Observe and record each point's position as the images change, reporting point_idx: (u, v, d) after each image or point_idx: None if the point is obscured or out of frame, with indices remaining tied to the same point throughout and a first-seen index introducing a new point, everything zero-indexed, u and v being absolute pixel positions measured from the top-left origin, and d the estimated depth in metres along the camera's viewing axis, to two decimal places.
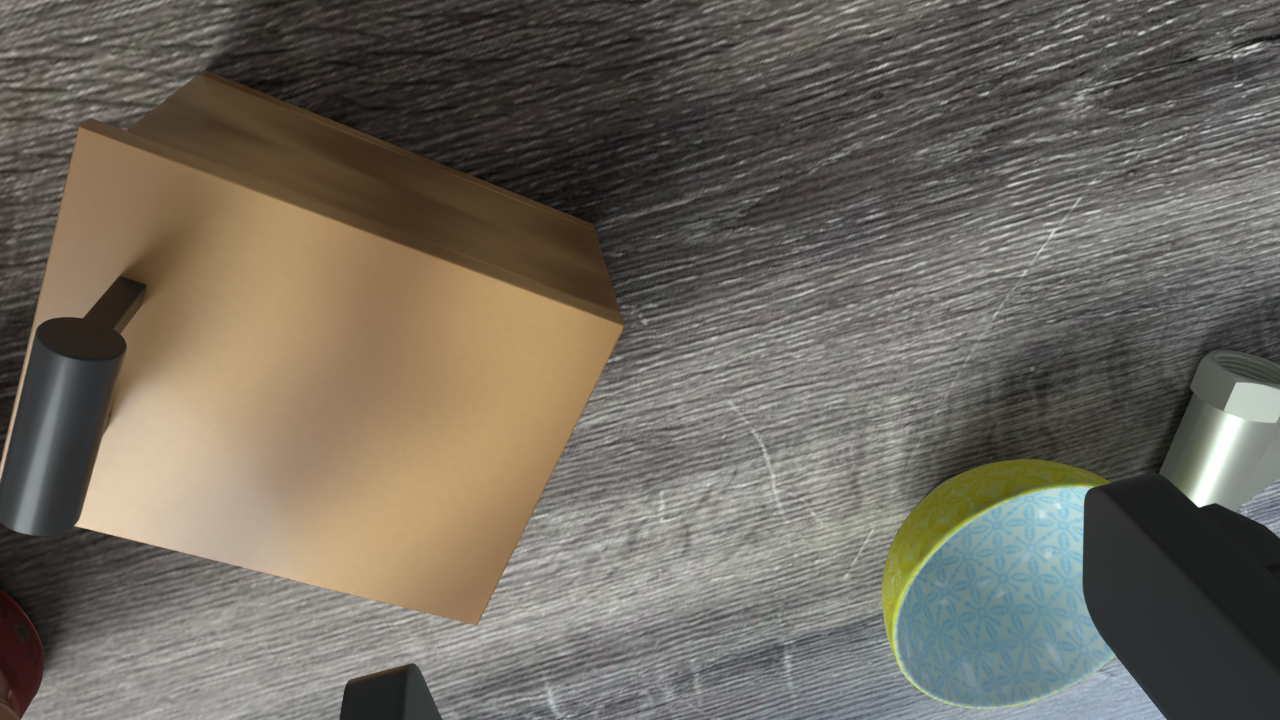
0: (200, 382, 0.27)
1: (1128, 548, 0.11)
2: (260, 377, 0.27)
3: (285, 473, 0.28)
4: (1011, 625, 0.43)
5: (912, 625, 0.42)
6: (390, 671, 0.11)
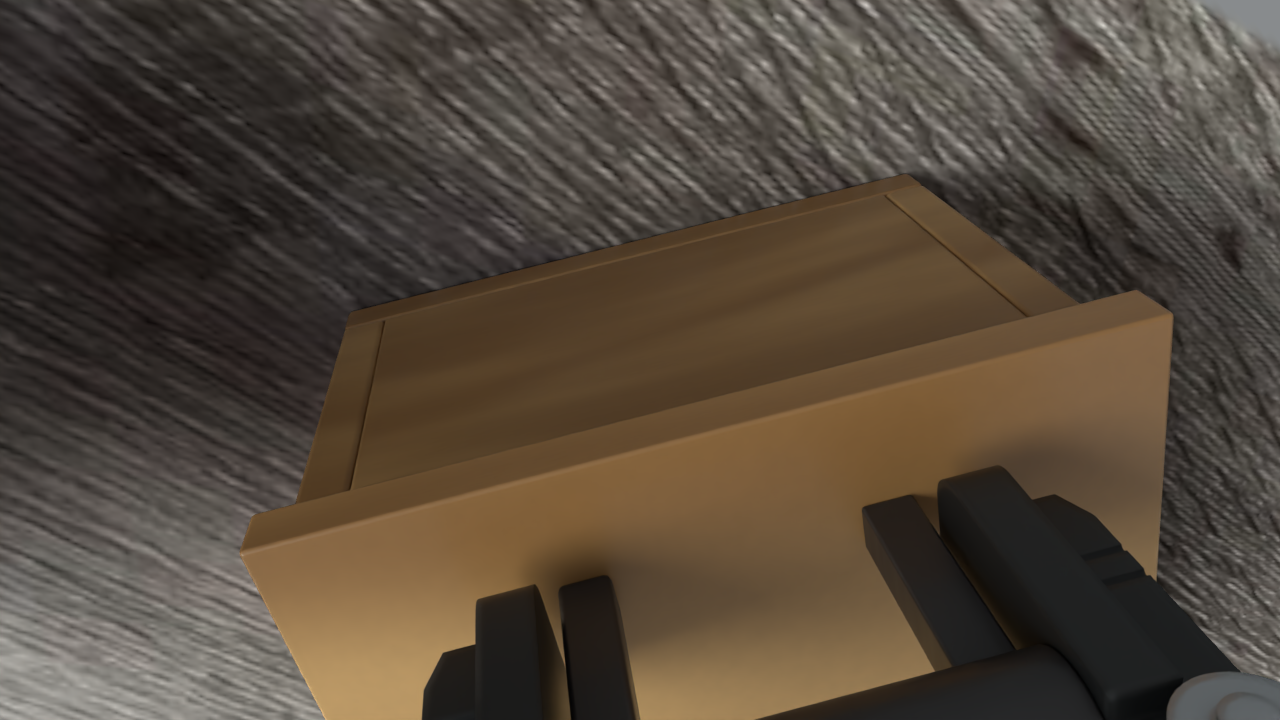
0: (764, 680, 0.14)
1: (968, 536, 0.11)
2: None
3: None
4: None
5: None
6: (517, 590, 0.11)
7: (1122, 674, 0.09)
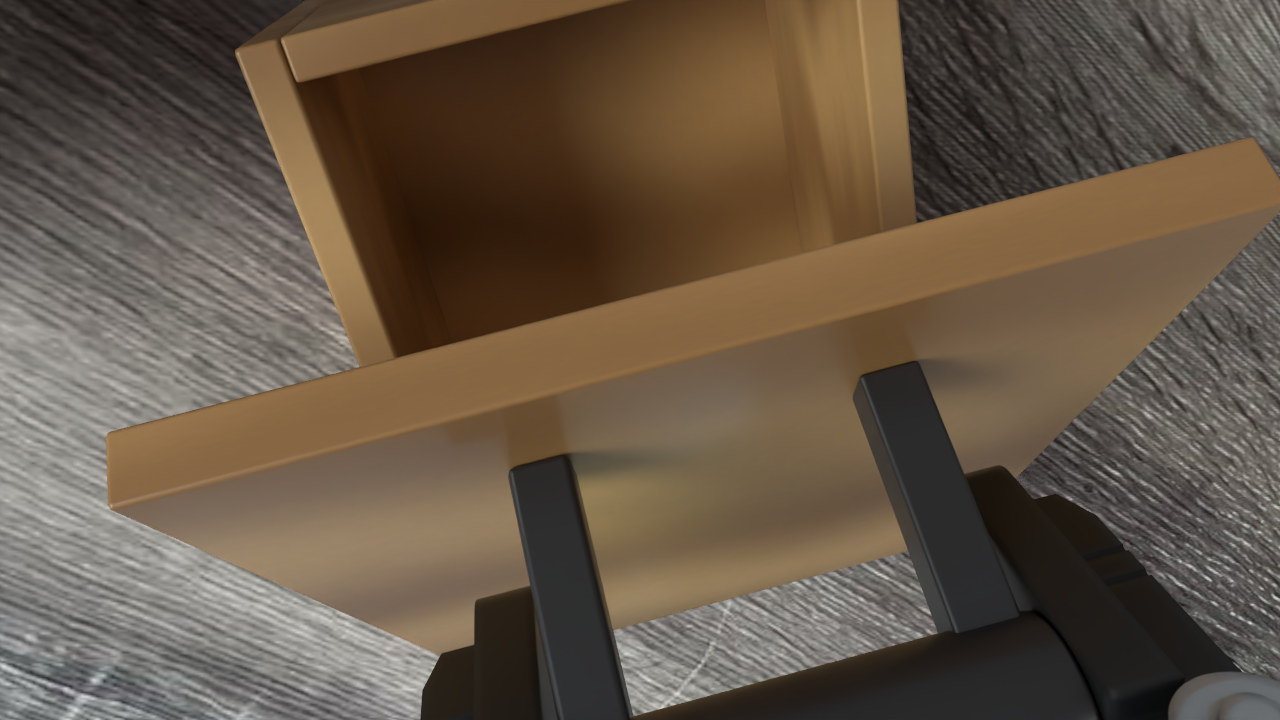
0: (714, 478, 0.13)
1: None
2: (760, 493, 0.14)
3: None
4: None
5: None
6: (515, 590, 0.11)
7: (1123, 673, 0.09)
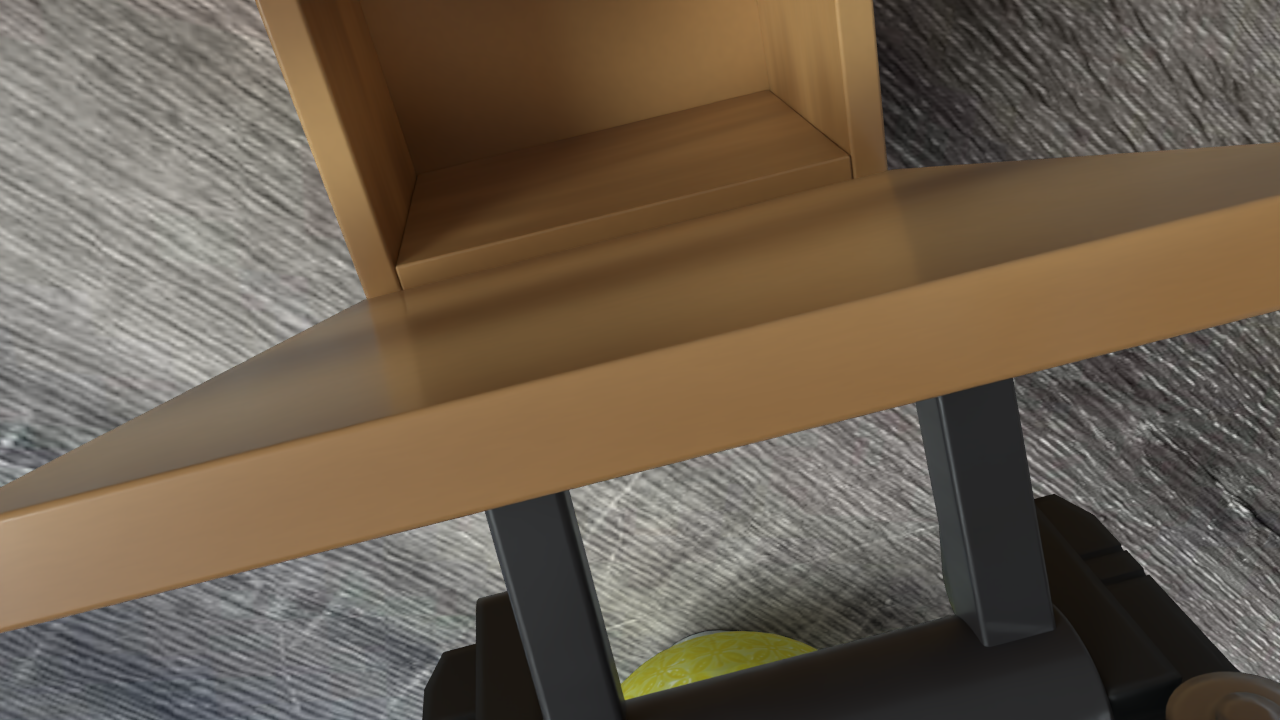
0: None
1: None
2: None
3: None
4: None
5: None
6: None
7: (1121, 674, 0.09)
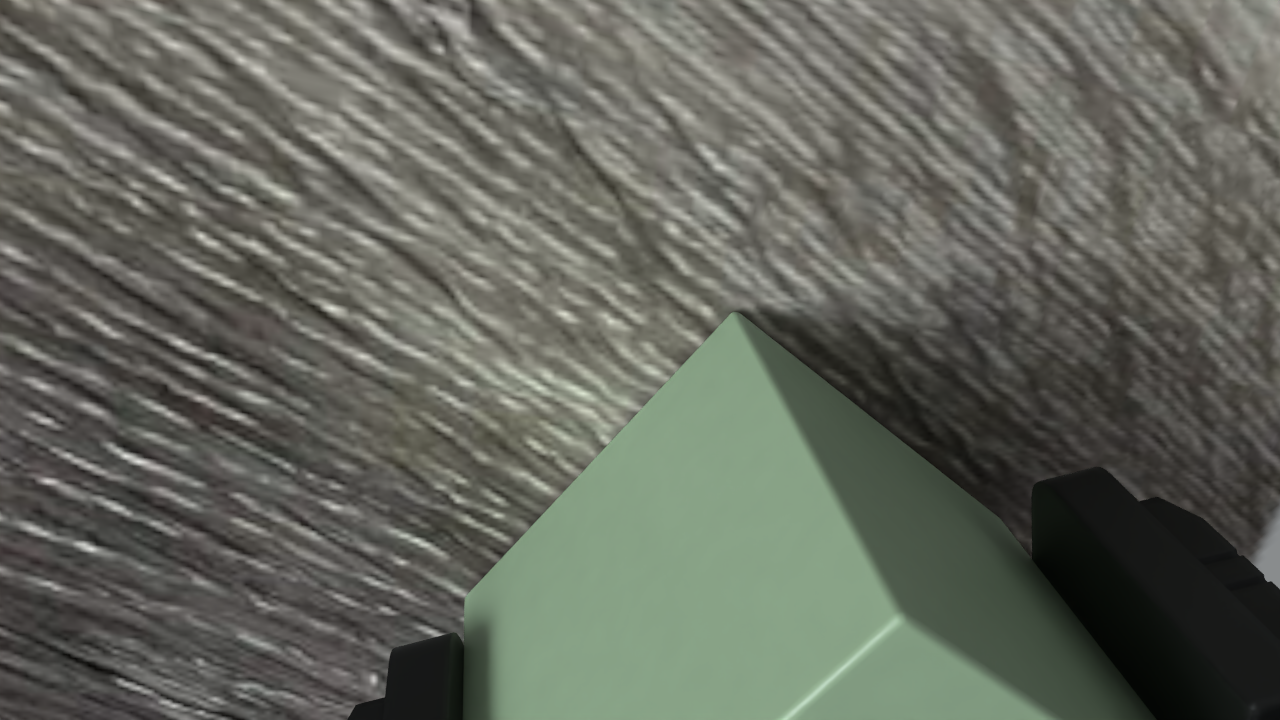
0: None
1: (1070, 541, 0.11)
2: None
3: None
4: None
5: None
6: (434, 639, 0.11)
7: (1262, 686, 0.08)
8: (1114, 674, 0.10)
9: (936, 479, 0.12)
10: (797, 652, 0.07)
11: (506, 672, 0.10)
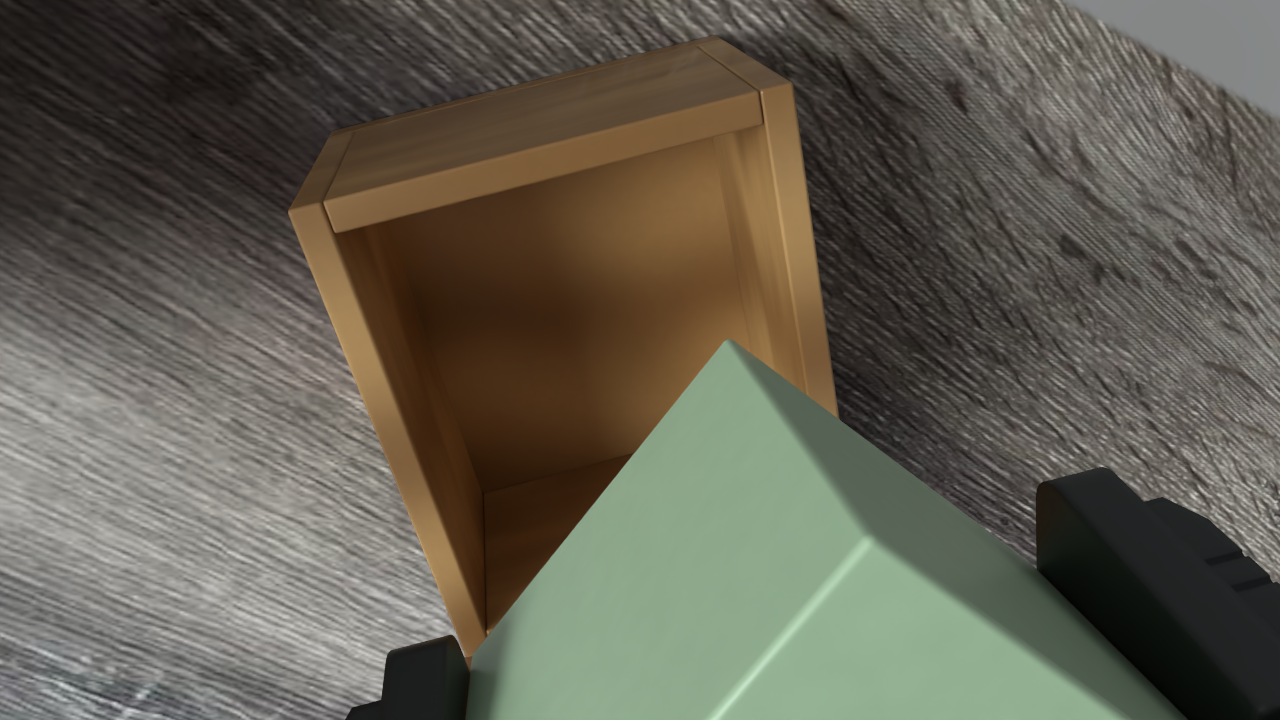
0: None
1: (1075, 541, 0.11)
2: None
3: None
4: None
5: None
6: (430, 642, 0.11)
7: (1269, 687, 0.08)
8: (1154, 691, 0.09)
9: (950, 508, 0.11)
10: (773, 599, 0.07)
11: (504, 708, 0.10)
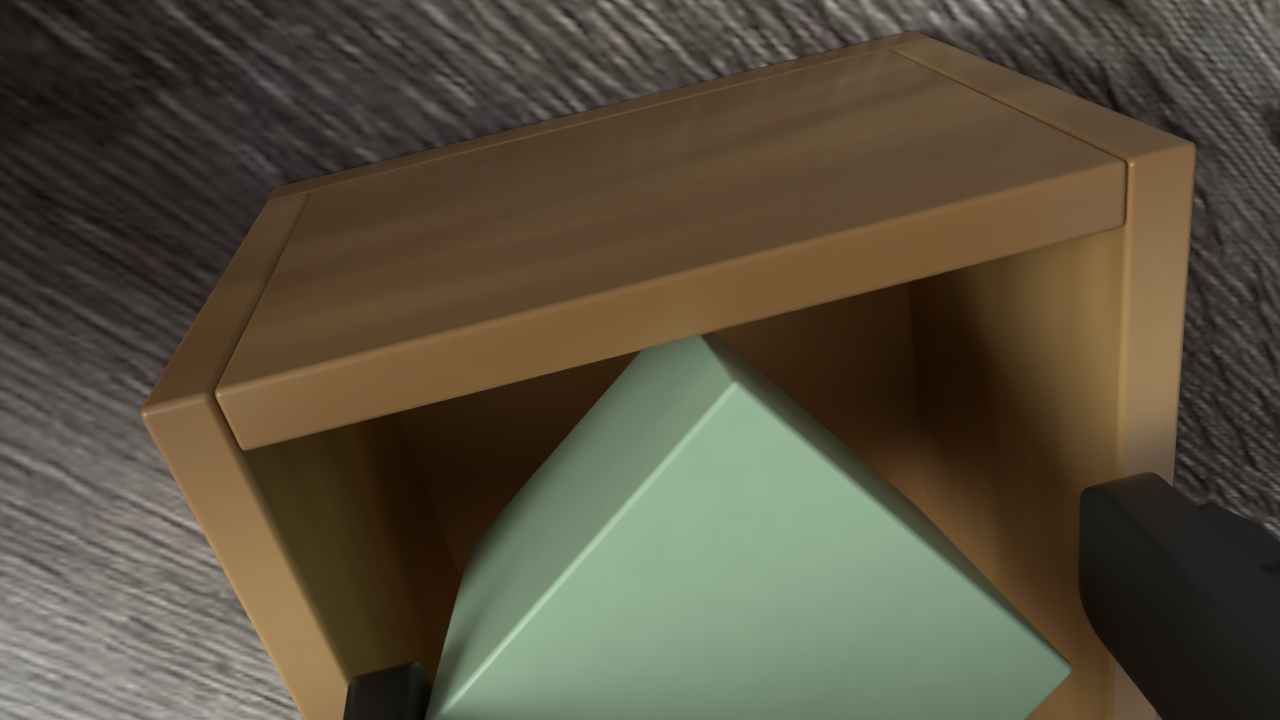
0: None
1: (1123, 547, 0.11)
2: None
3: None
4: None
5: None
6: (394, 668, 0.11)
7: None
8: (978, 572, 0.12)
9: (848, 449, 0.14)
10: (674, 432, 0.10)
11: (491, 561, 0.13)
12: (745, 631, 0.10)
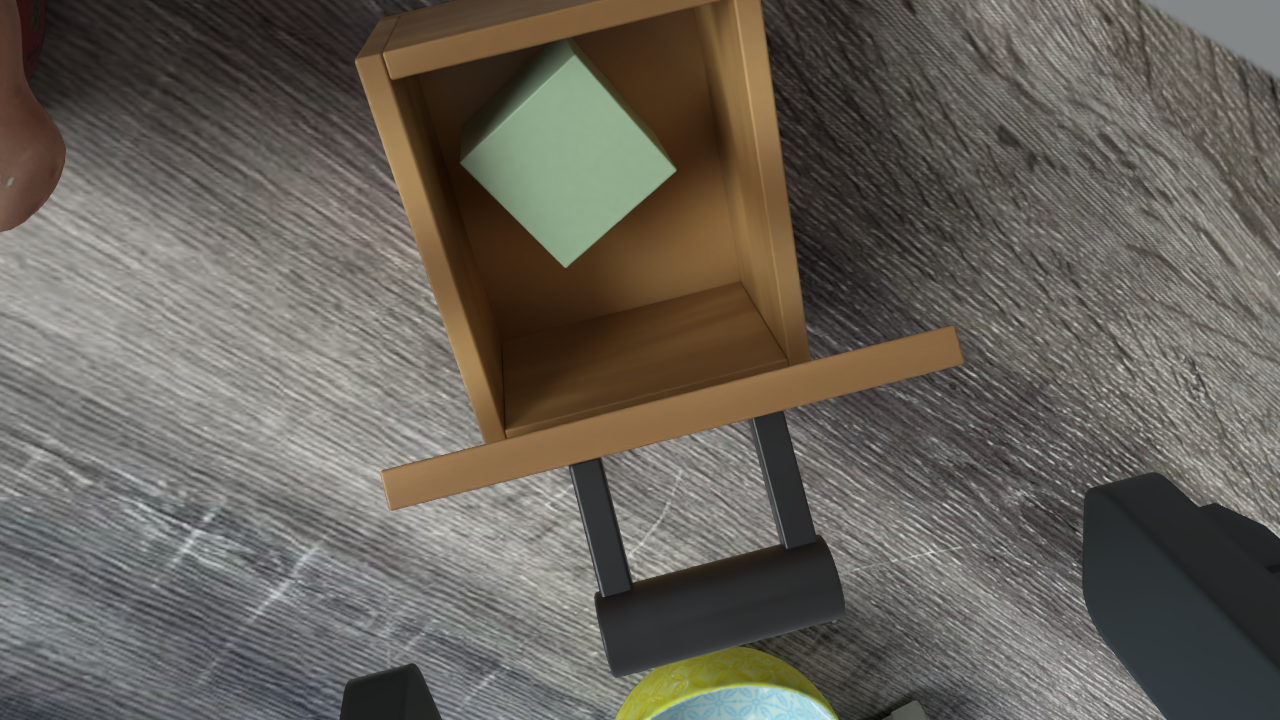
0: None
1: (1128, 548, 0.10)
2: None
3: None
4: None
5: None
6: (390, 671, 0.11)
7: None
8: (660, 146, 0.34)
9: (625, 100, 0.35)
10: (553, 70, 0.30)
11: (477, 122, 0.33)
12: (570, 141, 0.31)
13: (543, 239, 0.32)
